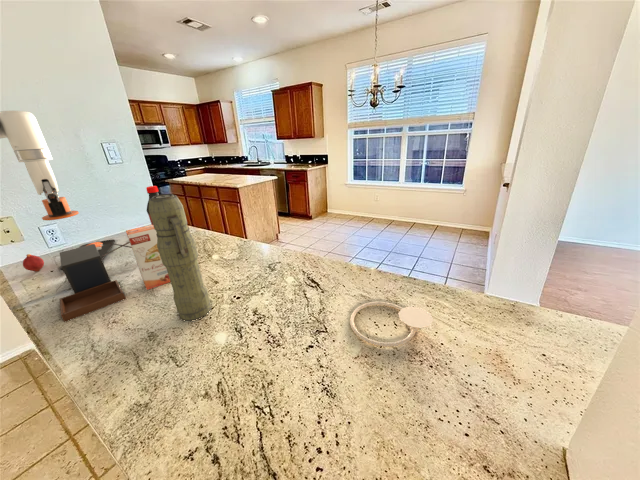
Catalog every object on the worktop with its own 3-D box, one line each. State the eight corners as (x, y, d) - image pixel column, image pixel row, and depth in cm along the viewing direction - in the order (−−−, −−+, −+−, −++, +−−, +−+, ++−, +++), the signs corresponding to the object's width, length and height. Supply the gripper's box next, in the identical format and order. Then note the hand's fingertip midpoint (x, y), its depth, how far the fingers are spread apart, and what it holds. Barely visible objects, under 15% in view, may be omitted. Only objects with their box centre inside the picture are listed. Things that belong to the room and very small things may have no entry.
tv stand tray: (64, 322, 77) (60, 315, 76) (62, 305, 85) (59, 298, 84) (125, 298, 86) (123, 292, 85) (118, 285, 95) (116, 279, 94)
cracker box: (147, 291, 90) (126, 234, 82) (144, 284, 94) (124, 229, 86) (190, 276, 98) (175, 223, 90) (185, 270, 102) (171, 219, 94)
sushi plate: (82, 248, 129) (79, 241, 128) (152, 235, 141) (150, 229, 139) (58, 274, 105) (53, 265, 104) (144, 256, 116) (141, 249, 115)
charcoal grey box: (76, 297, 88) (61, 266, 84) (73, 281, 99) (59, 252, 95) (112, 285, 95) (100, 255, 90) (105, 271, 106) (94, 243, 101)
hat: (42, 222, 82) (33, 203, 80) (42, 217, 88) (34, 199, 85) (80, 215, 88) (72, 197, 85) (77, 210, 94) (70, 194, 91)
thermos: (200, 297, 85) (170, 190, 71) (220, 311, 78) (191, 194, 64) (172, 312, 79) (134, 197, 65) (190, 328, 72) (152, 203, 58)
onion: (32, 270, 110) (22, 252, 107) (49, 266, 112) (41, 249, 109) (24, 276, 105) (14, 258, 102) (43, 272, 107) (34, 255, 104)
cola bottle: (185, 250, 121) (167, 184, 109) (167, 257, 114) (146, 189, 102) (174, 247, 125) (155, 183, 113) (156, 254, 118) (135, 187, 106)
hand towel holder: (358, 287, 78) (433, 299, 71) (358, 300, 80) (431, 313, 72) (341, 324, 63) (433, 345, 56) (342, 339, 65) (431, 360, 58)
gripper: (18, 156, 83) (43, 211, 90) (14, 158, 72) (44, 220, 79) (50, 154, 88) (72, 206, 95) (51, 155, 77) (76, 214, 84)
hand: (59, 212), depth 87 cm, fingers closed on hat, 5 cm apart
